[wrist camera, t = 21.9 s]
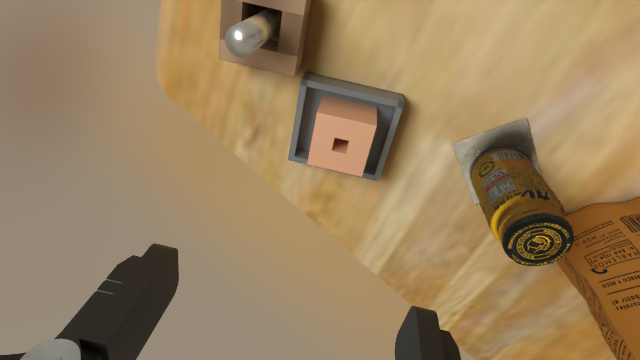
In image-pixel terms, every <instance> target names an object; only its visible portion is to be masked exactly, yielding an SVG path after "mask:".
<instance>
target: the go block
mask: <svg viewBox="0 0 640 360" xmlns="http://www.w3.org/2000/svg"><path fill="white" fill-rule="evenodd" d="M255 5H260V6H264V7H268V8H273V9H277V10H281V11H282V18H281V27H280V35H279V41H276V40H271V39H269V40H268V41H267V42H265V43H264V44H263V45H261V46H260V47H259V48H258V49H256V50H255V51H254V52H253V53H251V54H250V55H249V56H246V57H238V56H235V55H233V54H232V53H231V52H230V51H229V50H228V48H227V46H226V43H225V35H226V32H227V30H228V29H229V28H230V27H232V26H234V25H236V24H238V23H240V22H242V21H244V20H246V19H248V18H250V17H252V16H254V15H255ZM311 6H312V0H221V21H220V46H219V60H224V61H228V62H232V63H236V64H241V65H245V66H249V67H254V68H258V69H262V70H267V71H271V72H275V73H279V74H284V75H288V76H292V77H294V76H295V75H296V73H297V72H298V71H299V69H300V68H301V66H302V61H303V55H304V49H305V43H306V37H307V31H308V25H309V19H310V12H311Z"/></svg>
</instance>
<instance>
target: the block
mask: <svg viewBox="0 0 640 360" xmlns="http://www.w3.org/2000/svg"><path fill="white" fill-rule="evenodd" d="M376 127H377V106H373V105H369V104H364V103H360V102H355V101H351V100H346V99H342V98H338V97H333V96H329V95H323V98H322V100H321V103H320V106H319V108H318V111H317V115H316V120H315V125H314V130H313V135H312V141H311V146H310V151H309V156H308V162H307V164H308V165H312V166H317V167H321V168H325V169H330V170H334V171H339V172H343V173H347V174H352V175H356V176H360V177H362V175H363V171H364V168H365V165H366V161H367V158H368V154H369V151H370V148H371V144H372V141H373V137H374V134H375V130H376Z"/></svg>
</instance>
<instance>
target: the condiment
mask: <svg viewBox="0 0 640 360" xmlns="http://www.w3.org/2000/svg"><path fill="white" fill-rule="evenodd" d="M452 146H453V148H454V151H455V154H456V156H457V159H458V162H459V164H460V167H461V170H462V172H463V175H464V178H465V181H466V183H467V186H468V189H469V191H470V194H471V197H472V199H473V202H474V205H477V204H480V206H481V208H482V210H483V212H484V214H485V217H486V219H487V221H488V225H489V227H490V229H491V231H492V233H493V235H494V236H495V237H496V238H497V239H498V240H499V241H500V243H501V244H502V246H503V248H504V251H505V253H506V254H507V255H508V256H509V257H510V258H511V259H513V260H514V261H515V262H516V263H518V264H522V265H527V266H541V265H546V264H549V263H553V262H554V261H556V260H559V259H560V258H562V257H563V256H564V255H565V254H566V253H567V252H568V251H569V250H570V249H571V247H572V244H573V242H574V235H573V233H574V232H573V230H572V226H571V225H570V224H569V222H568V221H567V220H566V218H565V212H564V209H563V206H562V204H561V203H560V201H559V200H558V198H557V197H556V196H555V195H554V193H553V192H552V190H551V189H550V188H549V186H548V185H547V184H546V182H545V181H544V180H543V178H542V176H541V173H540V169H539V165H538V161H537V157H536V153H535V148H534V145H533V141H532V137H531V133H530V129H529V125H528V121H527V118H524V119H521V120H519V121H514V122H512V123H509V124H506V125H503V126H500V127H497V128H494V129H491V130H489V131H486V132H483V133H480V134H478V135H475V136H473V137H470V138H467V139H464V140H462V141H459V142H456V143H454V144H452ZM518 147H519V148H518ZM477 151H479V152H478V153H477ZM476 154H478V155H477V156H476Z"/></svg>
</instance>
